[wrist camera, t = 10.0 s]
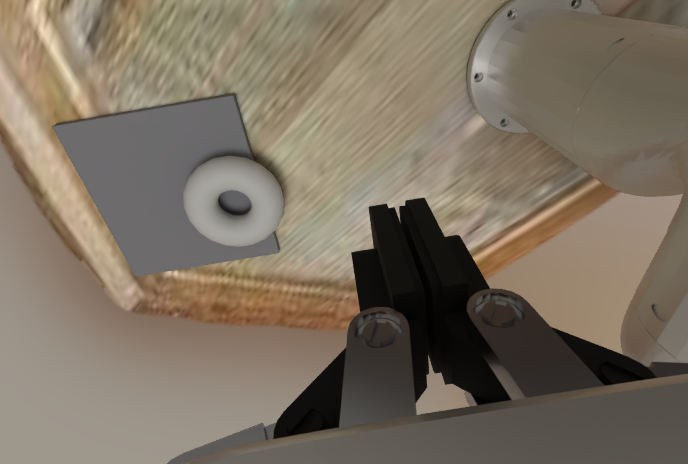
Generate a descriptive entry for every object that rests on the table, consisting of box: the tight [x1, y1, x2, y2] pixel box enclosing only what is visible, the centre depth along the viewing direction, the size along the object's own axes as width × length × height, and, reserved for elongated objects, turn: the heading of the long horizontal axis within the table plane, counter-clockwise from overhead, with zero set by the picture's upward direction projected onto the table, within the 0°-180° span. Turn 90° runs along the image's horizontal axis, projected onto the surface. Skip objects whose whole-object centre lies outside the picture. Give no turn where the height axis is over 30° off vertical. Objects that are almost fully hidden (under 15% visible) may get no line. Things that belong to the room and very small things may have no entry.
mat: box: [52, 93, 280, 276], centre depth 42 cm, size 17×18×1 cm
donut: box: [183, 156, 284, 247], centre depth 41 cm, size 10×4×10 cm
